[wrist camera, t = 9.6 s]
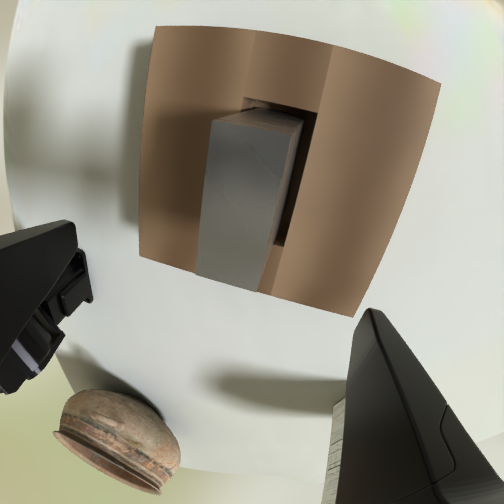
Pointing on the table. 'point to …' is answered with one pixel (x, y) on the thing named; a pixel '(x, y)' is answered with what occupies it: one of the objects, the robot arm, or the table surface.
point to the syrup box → (334, 454)
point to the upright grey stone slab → (245, 193)
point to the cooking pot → (120, 438)
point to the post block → (308, 159)
